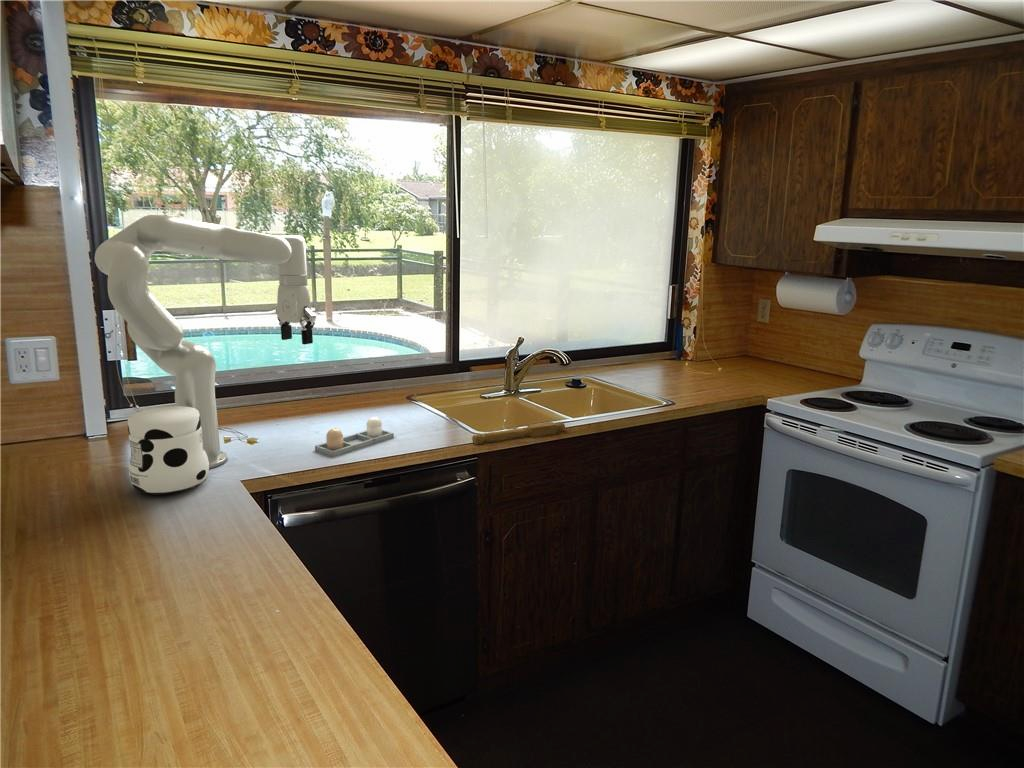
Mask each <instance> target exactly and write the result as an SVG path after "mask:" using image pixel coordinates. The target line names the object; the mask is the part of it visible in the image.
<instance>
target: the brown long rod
mask: <svg viewBox="0 0 1024 768" xmlns="http://www.w3.org/2000/svg"><path fill="white" fill-rule="evenodd" d="M565 428H566V426H565V423H564V422H562V421H561V422H558V423H555V422H552V421H547V422H540V423H533V424H528V425H527V426H526V427H523V428H522V429H521V428H518V429H512V430H502V431H501V430H500V431H492V432H485V433H483V434H480V433H478V434H473V435H472V437H471V438H472V443H473V444H474V445H481V444H483V443H486V444H488V443H493V442H500V441H504V440H511V439H514V438H515V439H516V438H520V437H525V438H526V437H531V438H535V437H542V436H547V435H548V436H549V435H555V434H557V432H559V433H560V432H563V431H565V430H566V429H565Z"/></svg>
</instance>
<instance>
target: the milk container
mask: <svg viewBox="0 0 1024 768" xmlns="http://www.w3.org/2000/svg"><path fill="white" fill-rule="evenodd" d="M127 432H128V441H129V442H128V443H129V447H130V460H129V465H128V475H129V479H130V483H131V485H132V486H133V488H134V489H135V490H136V491H137V492H139V493H142V494H146V495H153V496H160V495H161V496H163V495H165V496H166V495H173V494H180V493H183V492H186V491H189V490H193V489H194V488H196V487H199V486H200V485H202V484H203V483H204V482H205V481H207V478H208V477H209V470H210V468H209V461H208V457H207V454H206V452H205V449H204V447H203V442H202V428H201V419H200V414H199V411H198V410H197V409H195V408H191V407H184V406H176V405H172V406H171V405H170V406H169V405H168V406H161V407H160V406H159V407H154V408H147V409H144V410H141V411H137V412H134V413H133V414H131V415H129V417H128V419H127Z"/></svg>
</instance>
